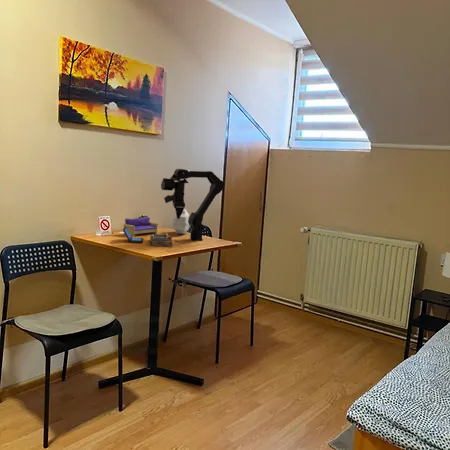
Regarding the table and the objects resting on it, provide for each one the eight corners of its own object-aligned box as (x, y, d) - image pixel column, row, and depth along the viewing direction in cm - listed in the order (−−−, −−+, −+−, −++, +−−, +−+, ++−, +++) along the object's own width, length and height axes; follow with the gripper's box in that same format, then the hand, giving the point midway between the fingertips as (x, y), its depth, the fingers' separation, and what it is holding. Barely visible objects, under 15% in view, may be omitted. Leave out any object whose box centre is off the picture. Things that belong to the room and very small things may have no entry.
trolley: (166, 241, 259) (167, 233, 258) (167, 245, 247) (167, 236, 246) (152, 241, 257) (153, 232, 257) (152, 245, 246) (152, 236, 245)
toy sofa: (132, 237, 266) (133, 219, 264) (122, 235, 271) (123, 218, 269) (158, 234, 283) (158, 217, 281) (148, 232, 288) (148, 216, 286)
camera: (190, 232, 299) (192, 207, 297) (187, 236, 281) (188, 210, 279) (174, 230, 299) (175, 206, 297) (169, 235, 281) (170, 209, 279)
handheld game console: (142, 244, 248) (143, 230, 247) (122, 243, 246) (122, 229, 245) (143, 240, 260) (144, 227, 259) (124, 239, 259) (124, 226, 258)
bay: (171, 240, 262) (171, 236, 262) (172, 246, 244) (172, 242, 244) (150, 239, 260) (150, 235, 260) (149, 245, 243) (149, 241, 242)
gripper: (164, 188, 270) (163, 215, 272) (165, 191, 252) (164, 219, 254) (183, 190, 272) (182, 216, 274) (185, 192, 254) (184, 220, 256)
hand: (177, 217), depth 264 cm, fingers open, 9 cm apart
